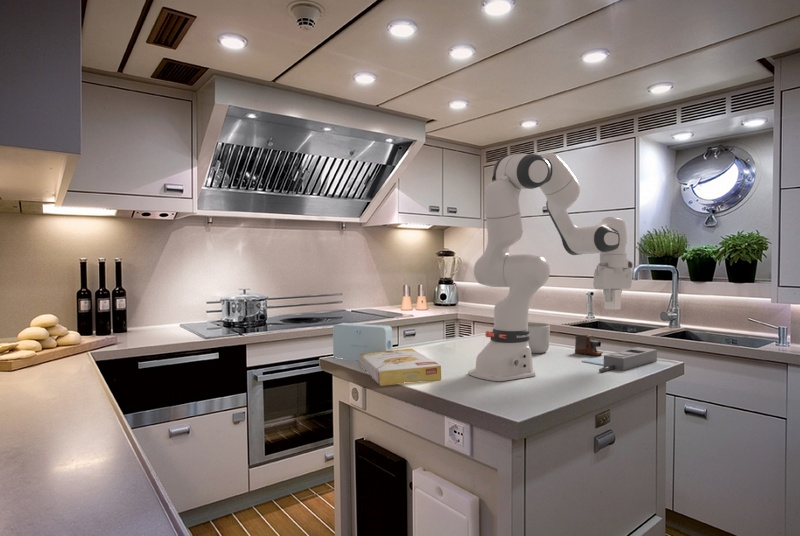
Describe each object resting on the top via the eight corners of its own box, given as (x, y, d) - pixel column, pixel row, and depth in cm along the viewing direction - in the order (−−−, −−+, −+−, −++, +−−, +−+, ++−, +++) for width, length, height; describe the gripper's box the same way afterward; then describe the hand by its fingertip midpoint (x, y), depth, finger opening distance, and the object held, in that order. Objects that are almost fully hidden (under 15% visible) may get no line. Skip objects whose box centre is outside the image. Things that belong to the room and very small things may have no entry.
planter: (554, 354, 189) (554, 326, 189) (522, 354, 189) (522, 327, 189) (544, 348, 202) (544, 322, 201) (514, 349, 201) (514, 322, 201)
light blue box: (332, 359, 186) (331, 324, 185) (340, 356, 191) (340, 322, 190) (384, 364, 175) (384, 328, 175) (392, 361, 180) (392, 325, 180)
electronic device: (598, 357, 184) (598, 337, 183) (574, 353, 191) (573, 334, 190) (603, 355, 187) (603, 335, 187) (579, 352, 194) (579, 333, 194)
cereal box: (412, 347, 178) (442, 363, 151) (412, 362, 178) (443, 380, 151) (358, 352, 172) (380, 369, 145) (359, 368, 172) (380, 388, 145)
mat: (602, 365, 169) (602, 364, 169) (581, 361, 175) (581, 360, 175) (614, 362, 174) (614, 361, 174) (593, 358, 180) (593, 357, 180)
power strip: (610, 374, 156) (610, 361, 156) (590, 370, 161) (590, 358, 161) (656, 360, 176) (656, 349, 176) (637, 357, 181) (637, 346, 181)
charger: (615, 309, 171) (615, 288, 171) (604, 308, 174) (604, 288, 174) (620, 309, 173) (621, 288, 173) (610, 308, 176) (610, 288, 176)
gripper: (605, 262, 165) (605, 303, 165) (635, 263, 177) (635, 301, 177) (588, 262, 170) (588, 302, 170) (618, 263, 182) (618, 300, 182)
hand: (612, 301), depth 173 cm, fingers closed on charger, 4 cm apart
